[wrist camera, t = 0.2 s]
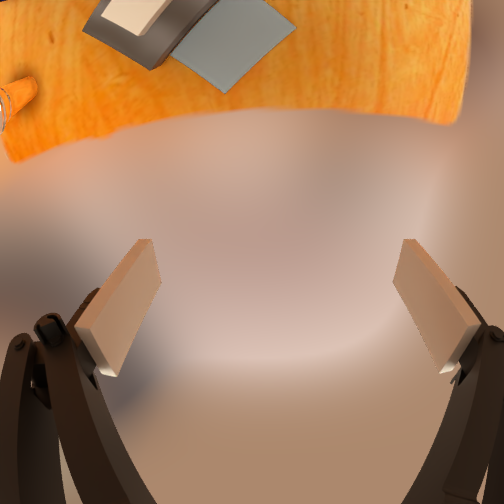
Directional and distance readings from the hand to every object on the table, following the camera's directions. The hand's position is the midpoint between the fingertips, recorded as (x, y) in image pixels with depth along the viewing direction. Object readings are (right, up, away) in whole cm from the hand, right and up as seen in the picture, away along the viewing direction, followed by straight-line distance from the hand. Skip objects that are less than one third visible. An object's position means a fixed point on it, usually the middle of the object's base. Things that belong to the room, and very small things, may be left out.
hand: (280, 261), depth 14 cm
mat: (-4, +26, +12) cm, 29 cm away
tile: (-13, +28, +5) cm, 32 cm away
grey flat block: (-13, +31, +7) cm, 34 cm away
